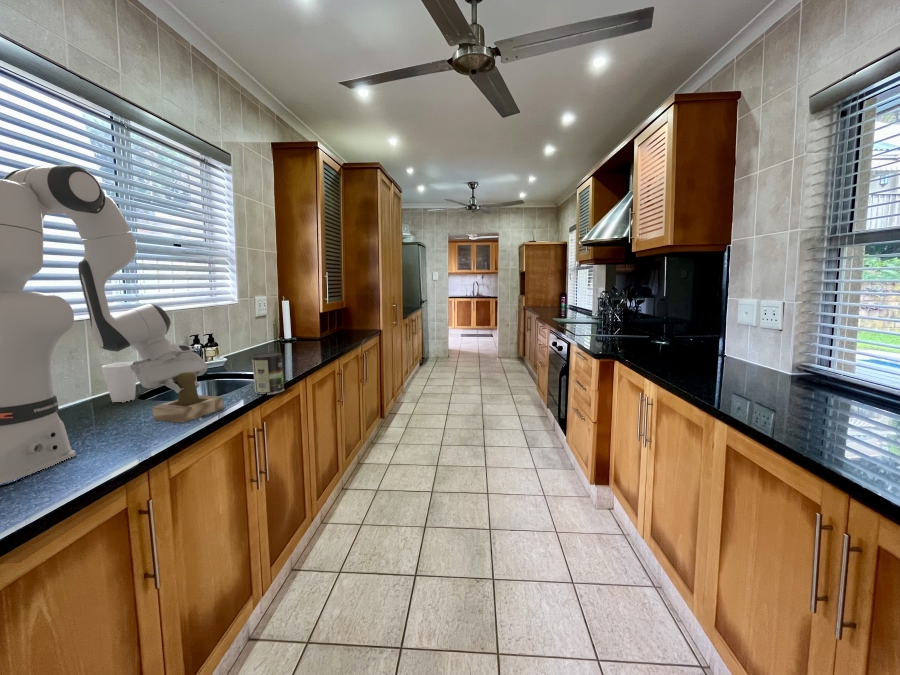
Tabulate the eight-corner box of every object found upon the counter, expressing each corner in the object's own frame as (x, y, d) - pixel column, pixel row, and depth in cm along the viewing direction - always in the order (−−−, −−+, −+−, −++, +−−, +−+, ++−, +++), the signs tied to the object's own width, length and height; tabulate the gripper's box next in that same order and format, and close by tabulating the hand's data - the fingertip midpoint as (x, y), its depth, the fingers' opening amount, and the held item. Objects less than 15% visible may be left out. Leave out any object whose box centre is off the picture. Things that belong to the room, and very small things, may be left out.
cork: (189, 410, 123) (185, 375, 122) (173, 409, 125) (168, 374, 123) (205, 404, 129) (201, 370, 128) (189, 403, 131) (185, 370, 129)
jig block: (184, 423, 119) (182, 409, 118) (153, 419, 122) (152, 406, 122) (223, 408, 132) (222, 396, 131) (195, 406, 136) (193, 394, 135)
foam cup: (139, 395, 151) (135, 360, 149) (141, 400, 144) (136, 364, 142) (106, 400, 145) (101, 364, 143) (106, 405, 138) (101, 368, 136)
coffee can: (284, 386, 160) (282, 351, 158) (284, 393, 150) (281, 355, 148) (255, 389, 156) (252, 353, 154) (253, 396, 146) (250, 358, 144)
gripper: (131, 356, 117) (161, 391, 115) (195, 345, 136) (220, 375, 135) (122, 370, 119) (151, 405, 117) (186, 357, 138) (211, 387, 136)
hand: (188, 389), depth 126 cm, fingers closed on cork, 4 cm apart
